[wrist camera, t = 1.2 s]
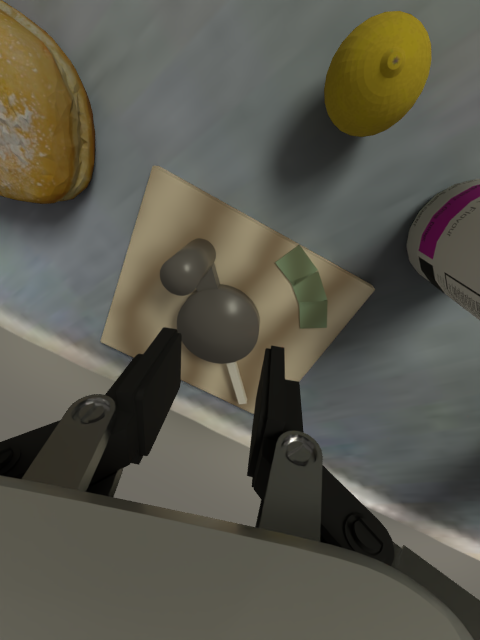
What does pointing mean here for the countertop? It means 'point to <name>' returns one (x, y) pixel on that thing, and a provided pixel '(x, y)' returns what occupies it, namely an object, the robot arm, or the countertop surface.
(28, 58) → the bread
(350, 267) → the countertop surface
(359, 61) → the lemon
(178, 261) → the dark grey handled piece
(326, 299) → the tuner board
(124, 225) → the countertop surface
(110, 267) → the countertop surface
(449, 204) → the supplement can
